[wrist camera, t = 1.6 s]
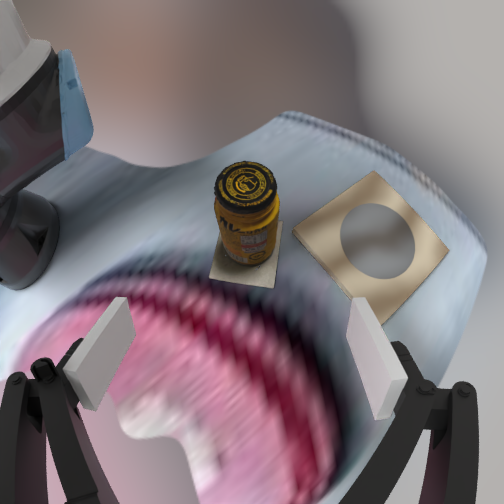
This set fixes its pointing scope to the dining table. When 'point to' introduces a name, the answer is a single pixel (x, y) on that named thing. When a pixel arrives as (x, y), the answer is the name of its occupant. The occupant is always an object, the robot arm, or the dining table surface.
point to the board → (372, 244)
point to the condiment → (247, 225)
